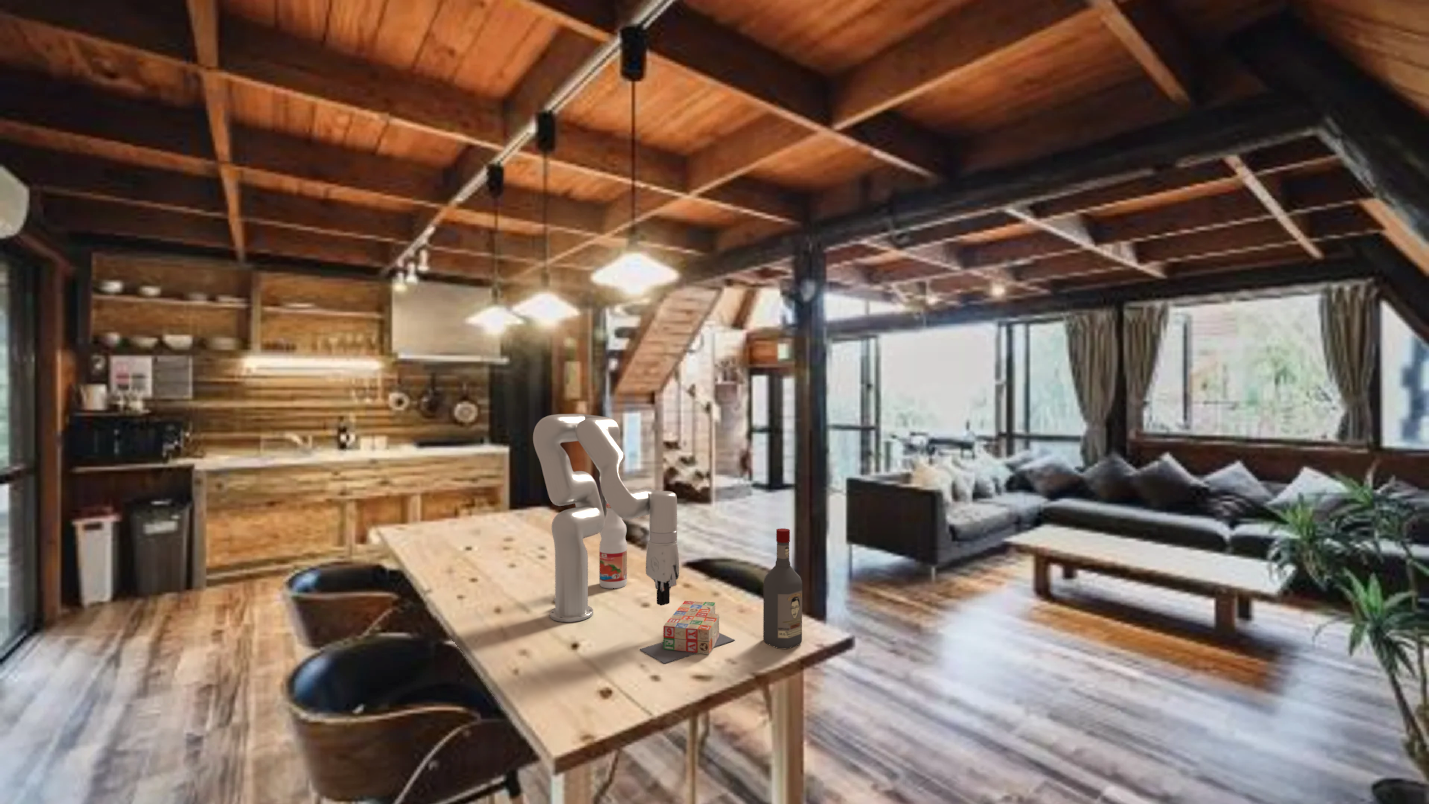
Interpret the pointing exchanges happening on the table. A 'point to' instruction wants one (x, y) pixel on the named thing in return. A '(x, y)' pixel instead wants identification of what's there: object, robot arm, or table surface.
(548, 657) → the table surface
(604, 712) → the table surface
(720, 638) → the mat
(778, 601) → the liquor
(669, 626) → the stack of blocks
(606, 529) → the fruit juice
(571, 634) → the table surface
